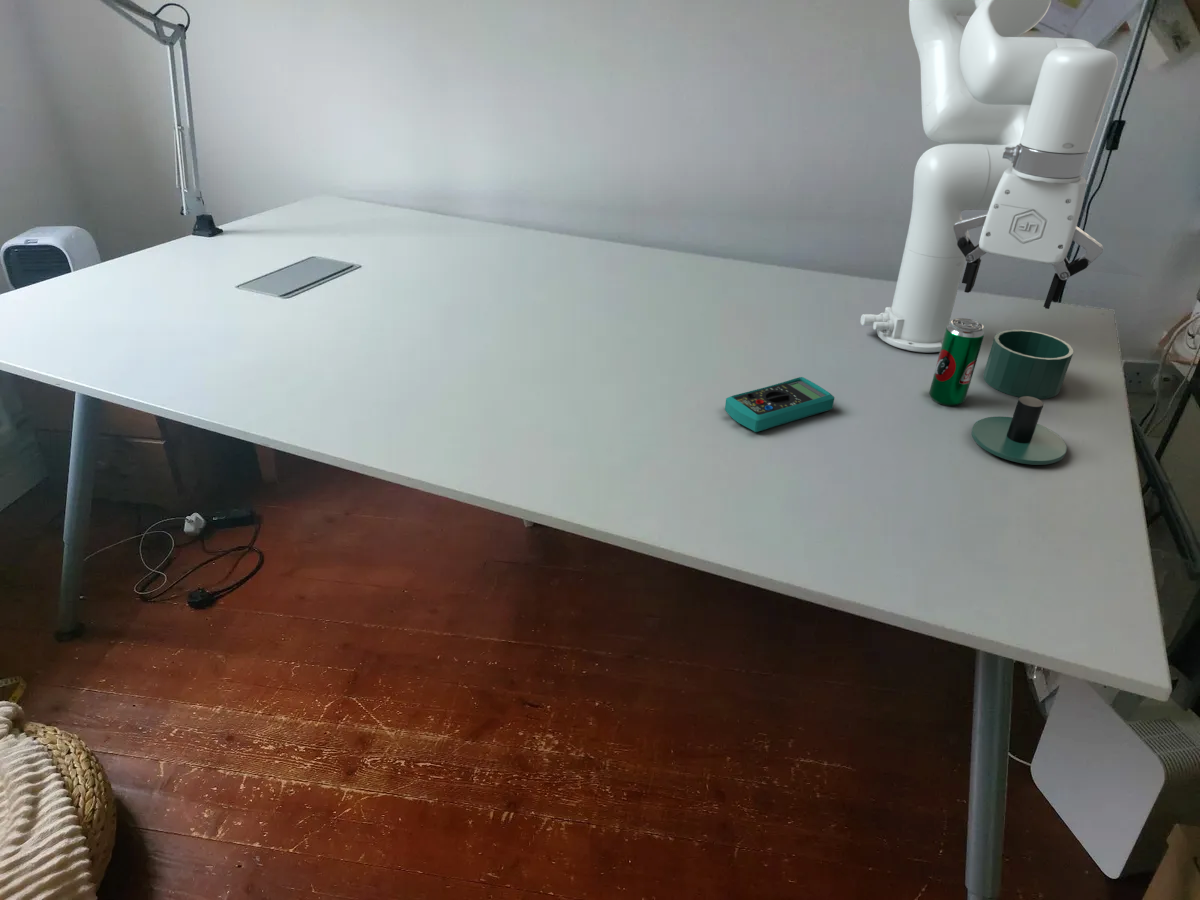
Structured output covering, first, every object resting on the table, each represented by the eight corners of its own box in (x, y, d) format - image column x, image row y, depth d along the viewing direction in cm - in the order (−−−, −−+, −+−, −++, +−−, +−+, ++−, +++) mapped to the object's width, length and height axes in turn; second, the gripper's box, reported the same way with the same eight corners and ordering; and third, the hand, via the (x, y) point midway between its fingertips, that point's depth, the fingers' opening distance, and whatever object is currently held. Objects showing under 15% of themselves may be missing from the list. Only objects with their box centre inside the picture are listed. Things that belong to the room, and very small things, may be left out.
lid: (1018, 476, 102) (1034, 430, 98) (951, 433, 111) (963, 389, 107) (1084, 458, 106) (1101, 413, 102) (1013, 417, 115) (1027, 375, 111)
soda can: (960, 410, 116) (982, 334, 110) (924, 401, 118) (944, 325, 112) (967, 397, 120) (989, 322, 113) (932, 388, 122) (952, 314, 116)
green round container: (1023, 404, 118) (1036, 364, 115) (967, 373, 126) (978, 335, 123) (1075, 391, 122) (1090, 352, 118) (1018, 362, 130) (1030, 325, 127)
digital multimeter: (719, 413, 115) (721, 394, 113) (800, 390, 121) (803, 372, 119) (752, 436, 109) (754, 417, 108) (834, 411, 115) (838, 393, 114)
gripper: (967, 159, 97) (933, 292, 107) (1129, 180, 90) (1077, 322, 99) (978, 147, 103) (944, 275, 112) (1132, 166, 95) (1082, 301, 105)
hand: (1007, 297), depth 106 cm, fingers open, 9 cm apart
